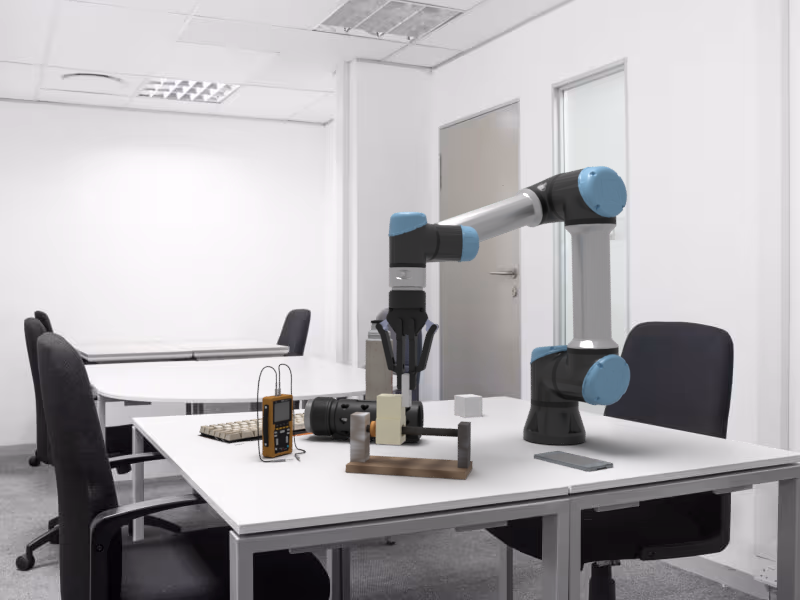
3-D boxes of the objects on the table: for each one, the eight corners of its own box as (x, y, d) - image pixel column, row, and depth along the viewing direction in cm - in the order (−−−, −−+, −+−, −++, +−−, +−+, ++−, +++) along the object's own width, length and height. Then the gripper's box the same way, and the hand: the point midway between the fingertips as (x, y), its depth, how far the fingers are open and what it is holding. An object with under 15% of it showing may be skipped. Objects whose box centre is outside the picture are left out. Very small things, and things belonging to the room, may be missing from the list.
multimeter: (286, 466, 161) (286, 369, 161) (249, 460, 167) (250, 366, 167) (329, 453, 174) (329, 364, 174) (294, 448, 179) (294, 361, 179)
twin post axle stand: (472, 468, 160) (472, 414, 160) (465, 479, 150) (465, 422, 150) (359, 461, 166) (360, 409, 166) (345, 472, 156) (346, 417, 156)
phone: (587, 474, 158) (587, 467, 158) (531, 460, 171) (531, 454, 171) (614, 469, 162) (614, 463, 162) (558, 456, 176) (558, 450, 176)
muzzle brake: (416, 447, 183) (417, 402, 183) (302, 441, 189) (302, 398, 188) (423, 439, 192) (424, 397, 192) (314, 434, 198) (314, 394, 198)
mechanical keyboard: (235, 448, 183) (235, 433, 183) (193, 437, 196) (193, 424, 196) (356, 430, 209) (357, 417, 209) (312, 422, 222) (312, 410, 222)
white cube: (454, 415, 231) (454, 395, 231) (471, 414, 234) (471, 394, 234) (464, 418, 226) (464, 397, 226) (482, 416, 228) (482, 396, 228)
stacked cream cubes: (405, 440, 161) (405, 394, 161) (400, 444, 156) (400, 397, 156) (382, 439, 162) (382, 393, 162) (375, 443, 157) (376, 396, 157)
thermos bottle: (392, 414, 232) (393, 319, 232) (392, 418, 224) (392, 320, 224) (365, 414, 232) (366, 319, 232) (364, 418, 224) (365, 320, 224)
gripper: (371, 288, 156) (370, 407, 156) (435, 289, 153) (434, 410, 153) (380, 289, 163) (380, 402, 163) (442, 289, 160) (441, 404, 160)
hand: (406, 406), depth 158 cm, fingers closed
